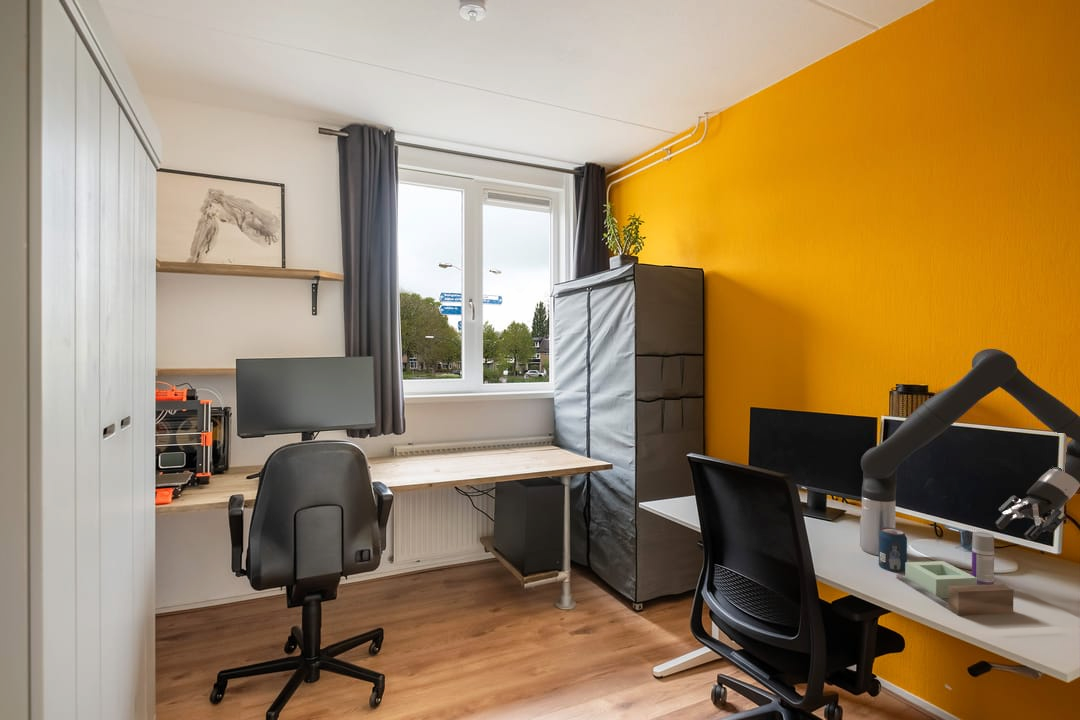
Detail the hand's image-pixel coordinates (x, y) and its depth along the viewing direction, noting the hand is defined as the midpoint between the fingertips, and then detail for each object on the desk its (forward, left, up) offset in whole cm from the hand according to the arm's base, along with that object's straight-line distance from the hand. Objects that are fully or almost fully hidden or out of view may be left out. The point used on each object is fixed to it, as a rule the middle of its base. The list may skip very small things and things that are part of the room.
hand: (1012, 532), depth 149 cm
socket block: (+1, -21, -14) cm, 26 cm away
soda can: (-13, -24, -15) cm, 32 cm away
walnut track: (+6, -21, -15) cm, 27 cm away
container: (0, -8, -15) cm, 18 cm away
